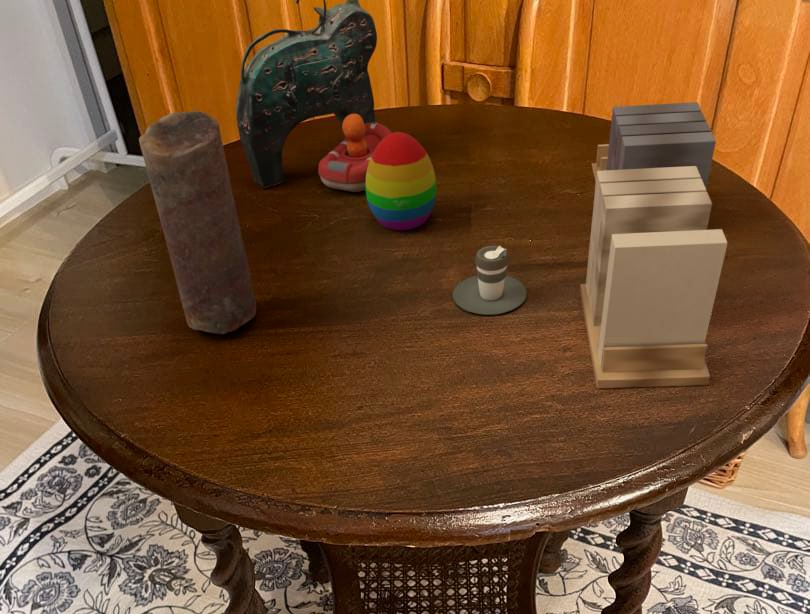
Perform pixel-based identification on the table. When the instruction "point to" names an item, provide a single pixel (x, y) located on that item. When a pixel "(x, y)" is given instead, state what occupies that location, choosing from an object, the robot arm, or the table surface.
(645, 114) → the grey rack
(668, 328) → the cream book
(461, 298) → the coffee cup
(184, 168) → the brown textured cylinder
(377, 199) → the decorative egg
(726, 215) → the table surface
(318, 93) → the ceramic cat
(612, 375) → the cream rack
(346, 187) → the toy boat
